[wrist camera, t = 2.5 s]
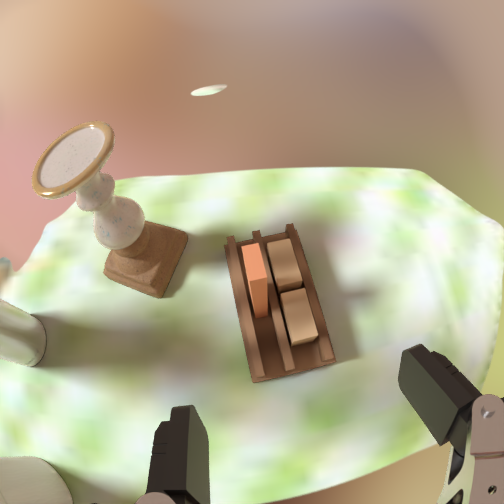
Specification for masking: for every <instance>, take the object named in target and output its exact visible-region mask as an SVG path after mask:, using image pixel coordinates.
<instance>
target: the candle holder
mask: <svg viewBox="0 0 504 504" xmlns="http://www.w3.org/2000/svg"><path fill="white" fill-rule="evenodd" d="M114 143H115V135H114V132H113V129H112V128H111V127H110V125H108V124H107V123H105V122H101V121H90V122H86V123H83V124H80V125H78V126H75V127H73V128H71V129H70V130H68V131H66V132H65V133H64V134H62V135H61V136H60V137H58V138H57V139H56V140H55V141H53V142H52V143H51V144H50V145H49V147H48V148H47V149H46V150H45V151H44V152H43V154H42V155H41V157H40V158H39V160H38V162H37V164H36V166H35V168H34V171H33V175H32V187H33V189H34V191H35V193H36V194H37V195H38V196H40V197H42V198H44V199H57V198H61V197H64V196H67V195H69V194H71V193H73V192H75V191H76V194H77V196H76V202H77V205H78V207H79V208H80V209H81V210H83V211H90V212H93V214H94V220H93V228H94V233H95V236H96V238H97V240H98V242H99V243H100V244H101V245H102V246H104V247H105V248H108V249H111V251H110V253H109V255H108V258H107V260H106V263H105V269H104V272H103V273H104V274H105V275H106V276H107V277H108V278H109V279H111V280H113V281H115V282H117V283H120V284H122V285H125V286H127V287H130V288H132V289H135V290H137V291H140V292H142V293H145V294H147V295H150V296H153V297H156V298H162V296H163V295H164V292H165V290H166V288H167V286H168V284H169V282H170V279H171V277H172V275H173V272H174V270H175V268H176V266H177V263H178V261H179V259H180V257H181V255H182V252H183V250H184V248H185V246H186V243H187V241H188V237H187V235H186V233H185V232H183V231H181V230H178V229H175V228H171V227H167V226H163V225H160V224H156V223H152V222H148V221H145V217H144V212H143V210H142V208H141V207H140V205H139V204H138V203H137V202H135V201H134V200H132V199H130V198H127V197H122V196H117V195H114V189H115V181H114V179H113V177H112V176H111V175H109V174H106V173H101V172H100V170H101V168H102V167H103V166H104V165H105V163H106V162H107V160H108V158H109V157H110V155H111V153H112V150H113V147H114Z"/></svg>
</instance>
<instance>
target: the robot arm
mask: <svg viewBox="0 0 504 504" xmlns="http://www.w3.org/2000/svg"><path fill="white" fill-rule="evenodd" d="M45 347H46V334H45V330H44V327H43V325H42V323H41V322H40V321H39V320H38V319H36V318H34V317H32V316H30V314H29V313H27V312H25V311H23V310H21V309H19V308H17V307H15V306H13V305H11V304H9V303H7V302H5V301H4V300H2V299H0V359H3V360H6V361H10V362H13V363H17V364H21V365H25V366H30V367H31V366H34V365H36V364H38V362H39V361H40V360H41V359H42V357H43V354H44V352H45ZM398 382H399V387H400V389H401V391H402V393H403V394H404V395H405V397H406V398H407V399H408V401H409V402H410V404H411V405H412V407H413V408H414V409H415V411H416V412H417V414H418V415H419V416H420V418H421V419H422V421H423V422H424V424H425V425H426V426H427V428H428V429H429V431H430V432H431V434H432V435H433V437H434V438H435V439H436V441H437V442H438V444H439V445H440V446H442V445H443V444H445V443H447V442H448V441H450V443H451V444H452V446H451V449H450V455H449V461H448V467H447V473H446V478H445V483H444V487H443V490H442V493H441V495H440V497H439V499H438V501H437V504H504V397H503V398H499V397H497V396H495V395H492V394H486V395H482V394H481V393H480V392H479V391H478V390H477V389H476V388H475V387H474V386H473V384H472V383H471V382H470V381H469V380H468V379H467V378H466V377H465V376H464V375H463V374H462V373H461V372H459V370H458V369H457V368H456V367H455V366H453V365H452V363H451V362H450V361H449V360H448V359H447V358H446V357H445V356H443V355H441V354H439V353H437V352H435V351H433V352H431V353H430V352H429V351H428V350H427V348H426V347H425V346H423V345H422V344H418V345H416V346H413V347H411V348H409V349H406V350H404V351H403V352H402V357H401V363H400V370H399V376H398ZM153 445H154V446H153V448H152V456H151V462H150V469H149V476H148V484H147V490H146V493H145V495H143V496H141V497H140V498H139V499H138V500H137V501H136V503H135V504H210V483H209V441H208V435H207V431H206V429H205V427H204V425H203V423H202V421H201V419H200V417H199V415H198V413H197V411H196V409H195V407H194V406H193V405H187V406H178V407H173V408H172V410H171V417H170V421H163V422H161V424H160V425H159V427H158V428H157V430H156V431H155V435H154V442H153ZM93 504H95V503H93Z"/></svg>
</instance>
